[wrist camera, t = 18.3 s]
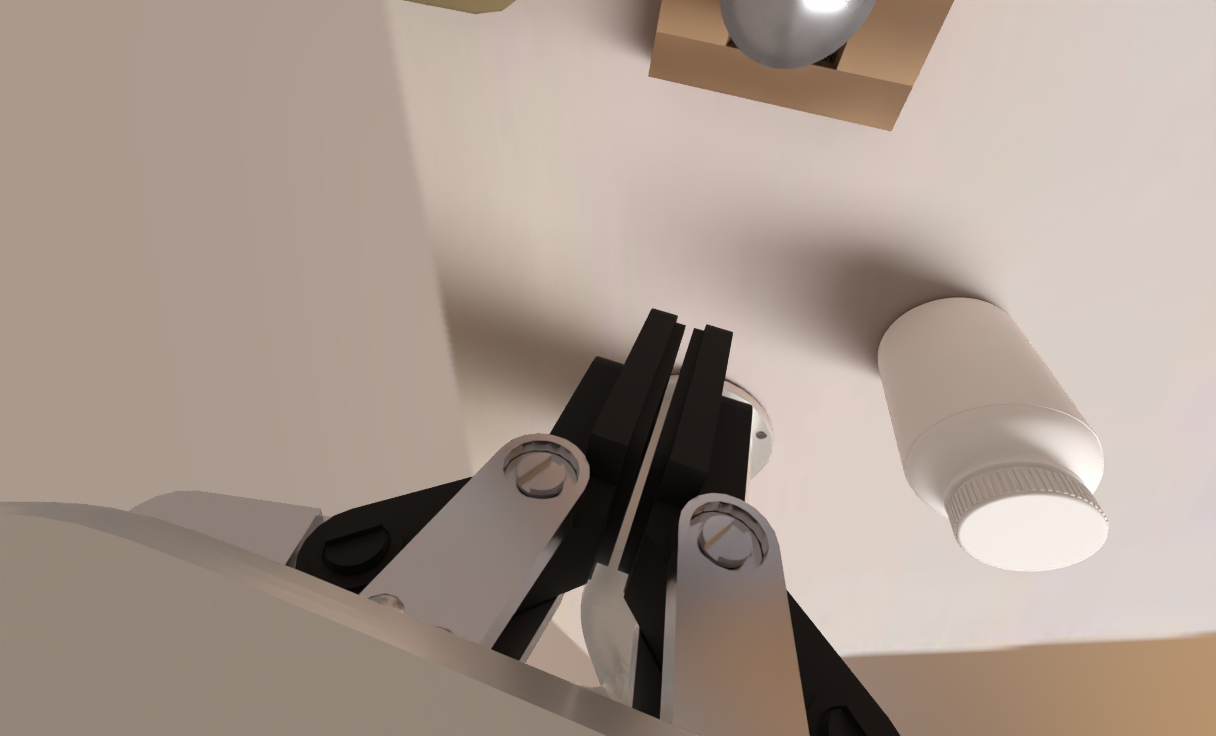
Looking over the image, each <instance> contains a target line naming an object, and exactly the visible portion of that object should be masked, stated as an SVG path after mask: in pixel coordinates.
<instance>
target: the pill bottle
mask: <svg viewBox="0 0 1216 736" xmlns="http://www.w3.org/2000/svg"><path fill="white" fill-rule="evenodd" d="M878 368H879V372H880V376H881V380H882V384H883V388H884V392H885V397H886V401H887V405H888V409H889V413H890V417H891V421H892V425H893V429H894V433H895V437H896V441H897V445H898V449H899V453H900V458H901V462H902V466H903V470H904V473H905V476H906V479H907V481H908V483H909V485H910V487H911V488H912V490H913V491H914V492H915V494H916V495H917V496H918V497H919V498H920V499H921V501H922V502H924V503H925V504H926V505H927V506H928V507H929V508H931V509H932V510H934V511H935V512H937V513H938V514H940V515H942V516H944V517H946V518H948V519H949V520H950V523H951V526H952V529H953V532H954V535H955V538H956V541H957V542H958V544H959V545H960V547H961V548H963V550H964V551H966V552H967V553H968V554H969V555H971V556H972V557H973V558H975V559H977V560H979V561H981V562H983V563H985V564H988V565H991V566H994V567H998V568H1002V569H1008V570H1015V571H1044V570H1052V569H1057V568H1062V567H1066V566H1069V565H1072V564H1075V563H1077V562H1080V561H1082V560H1084V559H1086V558H1088V557H1089V556H1091V555H1092V554H1094V553H1095V552H1096V551H1097V550H1098V549H1099V548H1100V547H1101V546H1102V545H1103V543H1104V542H1105V540H1106V538H1107V535H1108V531H1109V530H1108V528H1109V525H1108V521H1107V518H1106V516H1105V514H1104V512H1103V511H1102V509H1101V508H1100V506H1099V504H1098V503H1097V501H1096V500H1095V498H1094V496H1093V495H1092V494H1093V493H1094V491H1095V490H1096V488H1097V487H1098V485H1099V483H1100V481H1101V478H1102V474H1103V469H1104V458H1103V451H1102V447H1101V444H1100V441H1099V439H1098V438H1097V436H1096V434H1095V433H1094V431H1093V430H1092V428H1091V427H1090V425H1089V424H1088V422H1087V421H1086V420H1085V418H1084V417H1083V415H1082V414H1081V413H1080V411H1079V410H1078V408H1077V407H1076V406H1075V404H1074V403H1073V401H1072V400H1071V399H1070V397H1069V396H1068V394H1067V393H1066V392H1065V390H1064V389H1063V387H1062V386H1061V385H1060V383H1059V382H1058V380H1057V379H1056V378H1055V376H1054V375H1053V373H1052V372H1051V371H1050V369H1049V368H1048V367H1047V365H1046V364H1045V362H1044V361H1043V360H1042V358H1041V357H1040V355H1039V354H1038V353H1037V351H1036V350H1035V348H1034V347H1033V346H1032V344H1031V343H1030V341H1029V340H1028V339H1027V337H1026V336H1025V334H1024V333H1023V332H1022V330H1021V329H1020V327H1019V326H1018V325H1017V323H1016V322H1015V321H1014V320H1013V319H1012V318H1011V317H1010V316H1009V315H1008V314H1007V313H1005V312H1004V311H1003V310H1001V309H1000V308H998V307H997V306H995V305H993V304H990V303H988V302H985V301H981V300H977V299H972V298H944V299H939V300H934V301H930V302H927V303H924V304H922V305H919V306H917V307H915V308H913V309H911V310H909V311H908V312H906V313H905V314H903V315H902V316H900V317H899V318H898V319H897V320H896V321H895V322H894V323H893V324H892V325H891V326H890V327H889V328H888V329H887V331H886V332H885V334H884V336H883V338H882V340H881V342H880V345H879V349H878Z"/></svg>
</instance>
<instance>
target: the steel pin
mask: <svg viewBox="0 0 1216 736" xmlns="http://www.w3.org/2000/svg"><path fill="white" fill-rule="evenodd" d="M719 1H720V8H721V14H722V17H723V21H724V24H725V26H726V29H727V31H728V34H729V35H730V37H731V39H732V40H733V42H734V43H735V45H736V46H737V47H738V48H739V49H740V50H741V51H742V52H743V53H744V54H745V55H746V56H747V57H749V58H750V59H752V60H753V61H755V62H757V63H759V64H761V65H763V66H767V67H771V68H777V69H794V68H800V67H804V66H807V65H810V64H813V63H815V62H818V61H820V60H822V59H824V58H825V57H827V56H829V55H830V54H832V53H834V52H835V51H836V50H837V49H839V48H840V47H841V46H843V45H844V44H845V43H846V42H847V41H848V40H849V39H850V38H851V37H852V36H853V35H854V34H855V33H856V31H857V30H858V29H859V28H860V27H861V25H862V24H863V22H864V21H865V20H866V18H867V17H868V15H869V14H870V12H871V10H872V8H873V6H874V5H875V3H876V0H719Z"/></svg>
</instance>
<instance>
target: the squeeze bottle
mask: <svg viewBox="0 0 1216 736" xmlns="http://www.w3.org/2000/svg"><path fill="white" fill-rule="evenodd" d="M405 1H410V2H415V3H420V4H426V5H431V6H436V7H441V8H447V9H452V10H457V11H462V12H467V13H473V14H479V13H487V12H496V11H502V10H504V9H505V8H506V7H507V6H509V5H510V4H511V3H513V2H514V1H515V0H405Z"/></svg>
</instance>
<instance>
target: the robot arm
mask: <svg viewBox="0 0 1216 736" xmlns="http://www.w3.org/2000/svg"><path fill="white" fill-rule="evenodd" d="M677 318H678V316H677V315H674V314H670V313H667V312H664V311H660V310H657V309H653V308H652V309H651V311H650V313H649V315H648V317H647V319H646V321H645V323H644V325H643V327H642V329H641V332H640V334H639V336H638V338H637V340H636V342H635V344H634V346H633V348H632V350H631V352H630V354H629V356H628V358H627V360H626V362H625V364H621V363H618V362H614V361H611V360H608V359H605V358H602V357H599V356H597V357H596V358H595V359H594V360H593V362H592V364H591V365H590V367H589V369H588V370H587V372H586V374H585V375H584V377H583V379H582V380H581V382H580V384H579V385H578V387H577V389H576V391H575V392H574V394H573V396H572V397H571V399H570V401H569V402H568V404H567V406H566V407H565V409H564V411H563V412H562V414H561V416H560V417H559V419H558V421H557V422H556V424H555V426H554V428H553V429H552V431H551V433H550V434H540V433H537V434H529V435H523V436H521V437H518V438H516V439H513V440H511V441H510V442H508V443H507V444H506V445H504V446H503V447H502V448H501V449H500V450H499V451H498V452H497V453H496V454H495V455H494V456H493V457H492V458H491V459H490V460H489V461H488V462H487V463H486V464H485V465H484V466H483V467H482V468H481V469H480V470H479V471H478V472H477V473H476V474H475V475H474V476H473V477H469V478H466V479H462V480H458V481H455V482H451V483H447V484H443V485H439V486H436V487H432V488H429V489H425V490H421V491H417V492H413V493H409V494H406V495H402V496H399V497H395V498H391V499H387V500H383V501H380V502H376V503H372V504H369V505H365V506H361V507H357V508H354V509H350V510H348V511H345V512H343V513H340V514H337V515H335V516H333V517H328V516H322V512H321V509H319V508H312V507H306V506H298V505H292V504H285V503H277V502H271V501H263V500H257V499H250V498H243V497H236V496H229V495H222V494H215V493H208V492H201V491H176V492H172V493H168V494H164V495H160V496H156V497H154V498H152V499H150V500H148V501H146V502H144V503H142V504H139V505H137V506H135V507H134V508H133V509H131V510H130V511H125V510H120V509H116V508H110V507H103V506H95V505H88V504H78V503H61V502H60V503H59V502H0V736H900V735H899V733H898V732H897V730H896V728H895V727H894V725H893V724H892V722H891V721H890V720H889V718H888V717H887V715H886V714H885V713H884V712H883V711H882V709H881V708H880V707H879V705H878V704H877V703H876V702H875V700H874V699H873V698H872V696H870V694H869V693H868V691H867V690H866V689H865V688H864V686H863V685H862V684H861V683H860V681H859V680H858V679H857V678H856V676H855V675H854V674H853V673H852V672H851V670H850V669H849V668H848V666H847V665H846V664H845V663H844V661H843V660H842V659H841V657H840V656H839V655H838V654H837V652H836V651H835V650H834V649H833V647H832V646H831V645H830V644H829V642H828V641H827V640H826V639H825V637H824V636H823V635H822V634H821V632H820V631H819V630H818V629H817V627H816V626H815V625H814V623H813V622H812V621H811V620H810V618H809V617H808V616H807V615H806V613H805V612H804V611H803V610H802V608H801V607H800V606H799V605H798V603H797V602H796V601H795V600H794V598H793V597H792V596H791V595H790V593H789V592H788V591H787V590H786V585H785V578H784V572H783V566H782V560H781V553H780V547H779V543H778V540H777V537H776V534H775V532H774V530H773V529H772V527H771V525H770V524H769V522H768V521H767V519H766V518H765V517H764V516H763V515H761V514H760V513H759V512H758V511H757V510H756V509H755V508H754V507H752V506H751V505H749V504H748V495H749V484H750V480H751V479H752V478H754V477H755V476H756V475H758V474H759V473H760V472H761V471H762V470H763V469H764V467H765V466H766V465H767V463H768V461H769V459H770V456H771V454H772V446H773V430H772V427H771V423H770V420H769V418H768V416H767V415H766V413H765V411H764V409H763V408H762V407H761V406H760V405H759V404H758V402H757V401H756V400H755V399H754V398H753V397H751V396H750V395H749V394H748V393H746V392H745V391H744V390H742V389H741V388H739V387H737V386H735V385H733V384H731V383H729V382H727V381H725V375H726V370H727V364H728V358H729V353H730V347H731V341H732V336H733V332H731V331H728V330H724V329H721V328H717V327H714V326H711V325H706V327H705V330H704V331H703V330H699V329H696V328H694V330H693V333H692V336H691V340H690V343H689V346H688V349H687V352H686V355H685V358H684V361H683V365H682V368H681V371H680V374H679V375H671V373H672V369H673V366H674V363H675V360H676V356H677V353H678V350H679V347H680V343H681V340H682V337H683V334H684V330H685V327H686V325H682V324H679V323H676V321H677ZM582 585H585V586H584V590H583V593H582V599H581V625H582V630H583V635H584V639H585V643H586V646H587V649H588V652H589V655H590V658H591V661H592V663H593V666H594V669H595V672H596V674H597V677H598V679H599V682H600V685H601V686H599V687H589V686H586V685H582V684H579V683H576V682H572V683H571V682H568V681H566V680H563V679H561V678H559V677H556V676H554V675H551V674H549V673H547V672H544V671H541V670H539V669H537V668H535V667H532V666H530V665H527V664H525V663H526V661H527V659H528V657H529V656H530V654H531V653H532V651H533V649H534V647H535V646H536V644H537V642H538V641H539V639H540V637H541V635H542V634H543V632H544V630H545V629H546V627H547V625H548V623H549V622H550V620H551V618H552V617H553V615H554V613H555V612H556V610H557V608H558V607H559V605H560V603H561V600H562V598H563V595H564V593H565V592H568V591H570V590H572V589H575V588H577V587H580V586H582Z"/></svg>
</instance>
